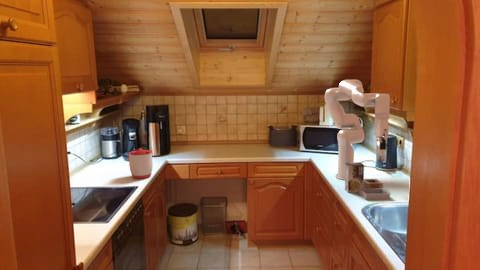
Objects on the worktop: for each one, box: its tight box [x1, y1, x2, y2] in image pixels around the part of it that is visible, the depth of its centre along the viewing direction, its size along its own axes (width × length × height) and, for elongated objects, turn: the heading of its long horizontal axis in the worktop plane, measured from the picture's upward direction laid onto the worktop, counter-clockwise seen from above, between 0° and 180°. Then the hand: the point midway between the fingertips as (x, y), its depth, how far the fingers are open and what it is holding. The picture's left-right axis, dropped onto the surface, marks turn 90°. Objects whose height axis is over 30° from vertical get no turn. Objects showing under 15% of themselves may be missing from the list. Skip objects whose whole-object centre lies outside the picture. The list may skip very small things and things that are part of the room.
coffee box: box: [344, 161, 365, 194], centre depth 216 cm, size 9×6×16 cm
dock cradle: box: [358, 187, 391, 201], centre depth 206 cm, size 10×13×3 cm
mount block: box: [363, 178, 384, 189], centre depth 219 cm, size 9×9×5 cm
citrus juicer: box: [125, 147, 153, 179], centre depth 254 cm, size 16×17×20 cm
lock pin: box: [376, 137, 386, 162], centre depth 212 cm, size 4×4×13 cm
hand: (381, 148), depth 212 cm, fingers closed on lock pin, 4 cm apart
